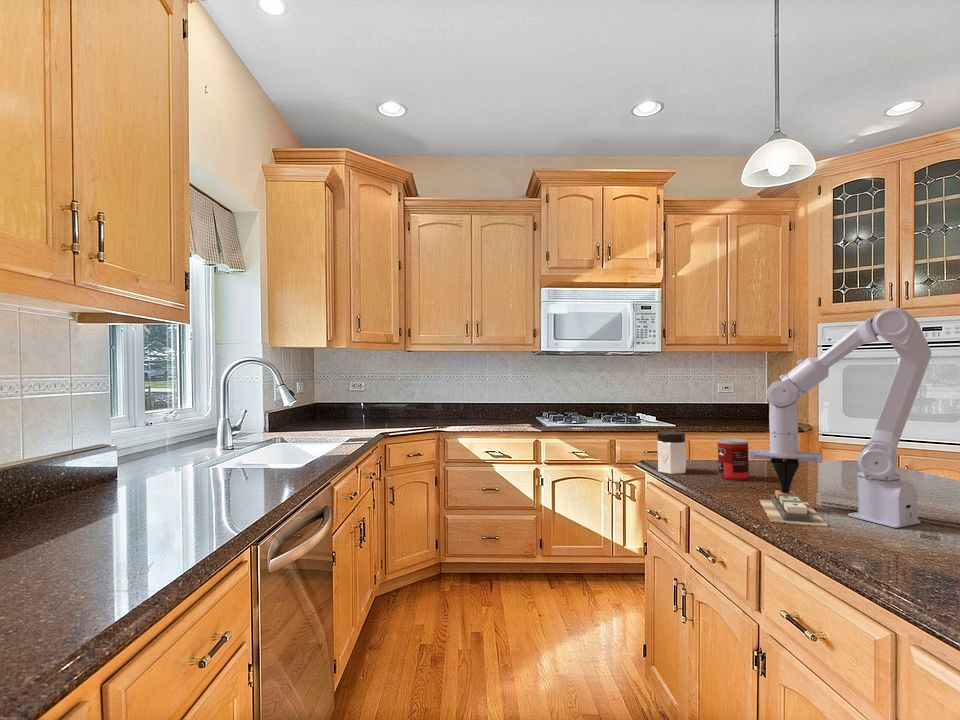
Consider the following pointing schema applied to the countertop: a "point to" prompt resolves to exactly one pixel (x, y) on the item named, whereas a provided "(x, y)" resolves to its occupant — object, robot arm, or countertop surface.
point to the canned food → (733, 459)
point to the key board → (790, 514)
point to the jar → (671, 452)
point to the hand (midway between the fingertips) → (785, 491)
